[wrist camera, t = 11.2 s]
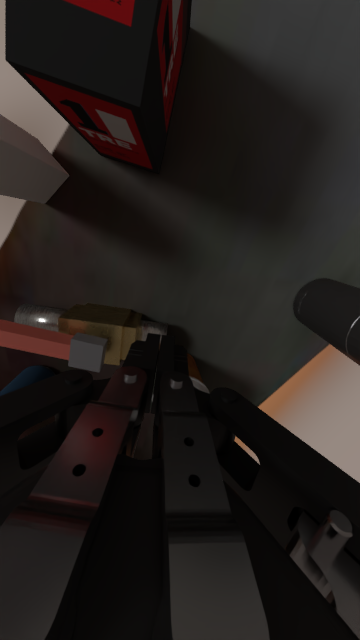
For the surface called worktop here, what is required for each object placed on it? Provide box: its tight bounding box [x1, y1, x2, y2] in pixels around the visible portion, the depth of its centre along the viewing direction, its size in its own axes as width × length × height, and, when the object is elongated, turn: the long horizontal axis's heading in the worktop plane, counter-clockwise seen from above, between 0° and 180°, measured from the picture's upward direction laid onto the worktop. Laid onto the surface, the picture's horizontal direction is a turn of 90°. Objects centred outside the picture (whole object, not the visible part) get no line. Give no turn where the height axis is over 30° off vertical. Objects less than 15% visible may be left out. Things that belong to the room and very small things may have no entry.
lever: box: [0, 319, 108, 372], centre depth 32 cm, size 18×4×3 cm, turn 75°
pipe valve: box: [14, 303, 168, 365], centre depth 39 cm, size 25×7×9 cm, turn 81°
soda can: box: [0, 365, 55, 396], centre depth 42 cm, size 7×7×12 cm
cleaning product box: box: [6, 0, 192, 174], centre depth 22 cm, size 16×9×20 cm, turn 165°
